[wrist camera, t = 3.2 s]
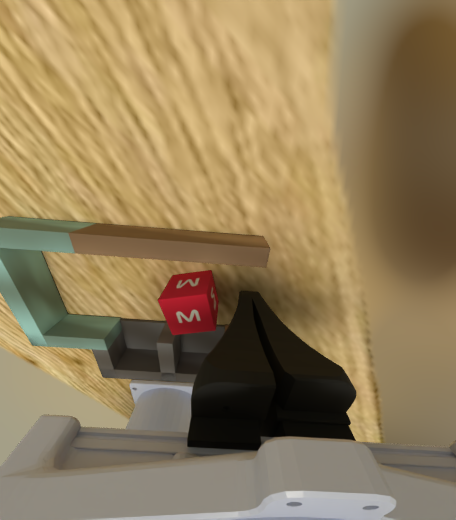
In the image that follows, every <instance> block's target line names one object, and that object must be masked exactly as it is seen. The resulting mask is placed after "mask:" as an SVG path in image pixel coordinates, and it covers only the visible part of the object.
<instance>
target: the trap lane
mask: <svg viewBox="0 0 456 520" xmlns="http://www.w3.org/2000/svg"><path fill="white" fill-rule="evenodd" d="M41 251H50V252H64V253H77V254H91V255H104V256H118V257H131V258H145V259H158V260H172V261H185V262H199V263H212V264H226V265H239V266H253V267H267V262H268V257H269V252H270V247H269V245H268V244H267V242H266V240H265V238H264V237H263V236H253V235H240V234H227V233H214V232H201V231H189V230H176V229H163V228H150V227H137V226H124V225H112V224H99V223H86V222H73V221H60V220H48V219H35V218H22V217H9V216H7V217H2V218H0V293H1V294H2V296H3V298H4V299H5V301H6V302H7V304H8V306H9V307H10V309H11V311H12V312H13V314H14V316H15V317H16V319H17V321H18V322H19V324H20V326H21V327H22V329H23V331H24V332H25V334H26V336H27V337H28V339H29V341H30V342H31V344H32V346H48V347H64V348H80V349H92V351H93V354H94V356H95V359H96V361H97V364H98V366H99V369H100V372H101V374H102V377H104V378H121V379H137V380H154V381H171V382H188V383H194V381H195V378H196V376H197V373H198V371H199V369H200V367H201V365H202V363H203V361H204V359H205V357H206V356H207V355H208V354H209V353H210V352H211V351H212V349H213V348H214V347H215V346H216V344H217V343H218V342H219V340H220V339H221V338H222V336H223V335H224V333H225V331H226V330H227V328H228V326H229V325H225V326H224V325H216V331H207V332H198V333H188V334H179V335H172V333H171V331H170V328H169V326H168V323H167V321H166V322H164V321H149V320H134V319H121V318H117V317H102V316H87V315H72V314H68V313H67V311H66V309H65V306H64V304H63V302H62V299H61V297H60V295H59V292H58V290H57V288H56V285H55V283H54V281H53V278H52V276H51V273H50V271H49V269H48V266H47V264H46V262H45V259H44V257H43V255H42V252H41Z"/></svg>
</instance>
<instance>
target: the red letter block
mask: <svg viewBox="0 0 456 520" xmlns="http://www.w3.org/2000/svg"><path fill="white" fill-rule="evenodd" d="M158 302H159V304H160V307H161V309H162V311H163V314H164V316H165V319H166V321H167V323H168V326H169V328H170V331H171V333H172V335H179V334H188V333H198V332H207V331H216V323H217V313H218V302H219V301H218V297H217V293H216V288H215V284H214V280H213V275H212V271H211V270H208V271H201V272H193V273H186V274H178V275H173V276H172V277H171V279H170V281H169V282H168V284H167V286H166V287H165V289H164V291H163V292H162V294H161V296H160V297H159V299H158Z"/></svg>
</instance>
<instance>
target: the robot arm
mask: <svg viewBox="0 0 456 520" xmlns="http://www.w3.org/2000/svg"><path fill="white" fill-rule="evenodd" d="M129 386H130V389H131V393H132V396H133V399H134V403H135V407H134V410H133V412H132V415H131V417H130V419H129V422H128V424H127V427H126V429H114V428H95V427H81V426H80V422H79V421H78V420H77V419H76V418H74V417H72V416H62V415H42V416H41V417H40V418H39V419H38V420H37V421H36V423H35V424H34V425H33V427H32V428H31V429H30V430H29V432H28V433H27V434H26V435H25V437H24V438H23V439H22V440H21V441H20V443H19V444H18V445H17V446H16V448H15V449H14V450H13V451H12V453H11V454H10V455H9V456H8V458H7V459H6V460H5V462H4V463H3V464H2V465H1V466H0V520H456V441H454V442H452V443H451V444H450V445H449V447H442V446H424V445H423V446H422V445H407V444H406V445H405V444H388V443H370V442H358V441H356V440H355V438H354V436H353V434H352V432H351V430H350V428H349V426H348V425H350V424H351V422H350V419H349V417H348V415H347V413H346V412H347V410H348V409H349V408H350V406H351V405H352V403H353V402H354V400H355V398H356V390H355V388H354V386H353V385H352V383H351V381H350V379H349V378H348V376H347V374H346V373H345V371H344V370H343V368H342V367H340V366H339V365H337V364H336V363H334V362H332V361H331V360H329V359H328V358H326V357H324V356H323V355H321V354H320V353H318V352H317V351H316V350H314V349H313V348H311V347H310V346H309V345H307V344H306V343H305V342H303V341H302V340H301V339H300V338H299V337H297V336H296V335H295V334H294V333H293V332H292V331H291V330H290V329H288V328H287V327H286V326H285V325H284V324H283V323H282V322H281V321H280V319H279V318H278V317H277V316H276V315H275V314H274V312H273V311H272V310H271V309H270V307H269V306H268V305H267V304H266V302H265V301H264V299H263V298H262V297H261V295H260V294H259V292H253V291H240V292H239V300H238V306H237V309H236V312H235V314H234V316H233V319H232V321H231V323H230V325H229V326H228V328H227V330H226V331H225V333H224V335H223V336H222V338H221V339H220V340H219V342H218V343H217V344H216V346H215V347H214V348H213V349H212V351H211V352H210V353H209V354H208V355H207V356H206V357H205V359H204V361H203V363H202V365H201V367H200V369H199V371H198V373H197V376H196V378H195V381H194V383H181V382H164V381H148V380H132V381H131V382H130V385H129Z"/></svg>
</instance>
